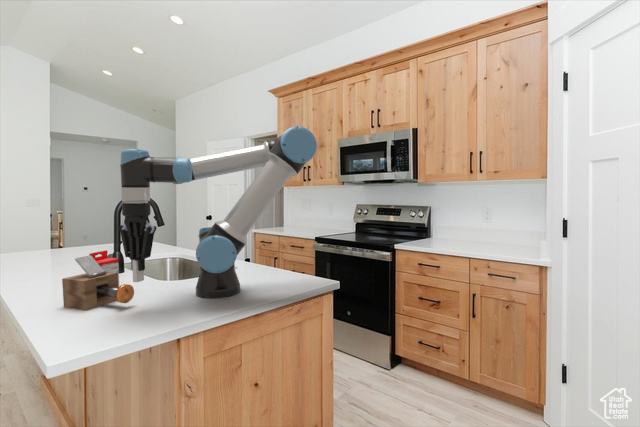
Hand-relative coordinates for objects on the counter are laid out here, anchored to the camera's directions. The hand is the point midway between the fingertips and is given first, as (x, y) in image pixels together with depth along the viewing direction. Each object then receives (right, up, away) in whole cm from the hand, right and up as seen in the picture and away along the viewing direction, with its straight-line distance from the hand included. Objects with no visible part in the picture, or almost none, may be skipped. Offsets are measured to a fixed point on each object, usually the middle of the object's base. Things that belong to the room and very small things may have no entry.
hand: (138, 281), depth 108 cm
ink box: (-22, -8, +21) cm, 32 cm away
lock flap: (-19, +3, +8) cm, 21 cm away
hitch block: (-19, -9, +8) cm, 23 cm away
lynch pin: (-10, -7, +5) cm, 13 cm away
